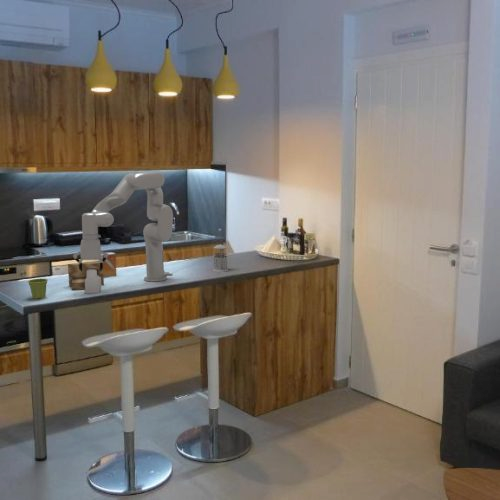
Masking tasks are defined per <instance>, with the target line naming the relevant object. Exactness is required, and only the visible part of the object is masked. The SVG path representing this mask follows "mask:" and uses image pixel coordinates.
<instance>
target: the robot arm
mask: <svg viewBox="0 0 500 500" xmlns="http://www.w3.org/2000/svg"><path fill="white" fill-rule="evenodd" d="M165 179H166V178H165V176H164V174H163V173H162V172H159V171H142V172H140V173H136V172H135V173H134V172H133V173H132V172H130V173H127V174H125V175H124V176H123V177H122V179H121V180H120V182H119V183H118V184H117V185H116V187H115V188H114V189H113V190H112V192H111V193H110V194H108V195H107V196H106V197H104V198H103V199H102V200H100V201H99V202H98V203H97V204H96V205H95V207H94V208H93V209H92V211H91V212H85V213H83V214H82V215H81V226H82V227H81V229H82V230H81V231H82V233H81V235H82V239H81V241H80V246H79V247H80V250H79V251H78V252H76V253H74V254H73V255H72V257H73V259H74V260H75V261H76V262H77V264H79V270H80V269H81V271H82V263H83V261H87V260H89V261H91V260H95V261H96V260H98V262H99V261H100V271H102V269H103V262H104V261H105V260H106V258H107V257H108V254H107V253H108V252H105V251H102V248H101V241H100V238H102V237H101V234H99V227H103V228H104V227H105V228H106V227H110V226H111V225H112V224H113V223H114V222H115V221H114V220H115V218H114V216H113V214H112V213H110V212H111V210H113V209H114V208H117V207H120V206H122V205H124V204H126V203H127V201H128V200H129V198H130V197H131V196H132V194H134V192H135V190H138V191H143V190H145V191H146V194H147V200H146V201H147V206H146V217H147V218H148V219H149V220H151V221H155V223H154V222H151V223H148V224H146V225H145V226H144V228H143V238H144V244H145V266H146V267H145V268H146V276H145V277H143V280H144V281H146V282H150V283H151V282H152V283H153V282H155V283H157V282H163V281H166V280H167V278H168V277H172V276H173V272H170V271H167V272H166V271H165V270H164V269H165V268H164V265H165V263H164V246H163V243H166V242H167V243H168V241H169V240H170V239H171V237H172V235H173V227H174V226H173V223H174V212H173V209H172V208H171V206H170V205H167V204H164V193H163V190H162V186H164V184H165ZM156 222H157V223H156ZM101 254H103V255H105V257H104V258H103V259H101ZM78 256H80V259H79V258H78Z"/></svg>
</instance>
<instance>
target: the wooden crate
mask: <svg viewBox="0 0 500 500" xmlns="http://www.w3.org/2000/svg"><path fill="white" fill-rule="evenodd" d="M91 268H95V269H98V273H99V277H101V286H104V285H105V282H104V281H105V277H104V275H103V269H102V271H100V263H99V262H87V263H83V262H82V271H81V269H80V270H79V263H68V264H67V270H68V271H67V272H68V287H69V288H71V291H83V290H84V291H85V279H86V278H87V277H86V270H87V269H91Z"/></svg>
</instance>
